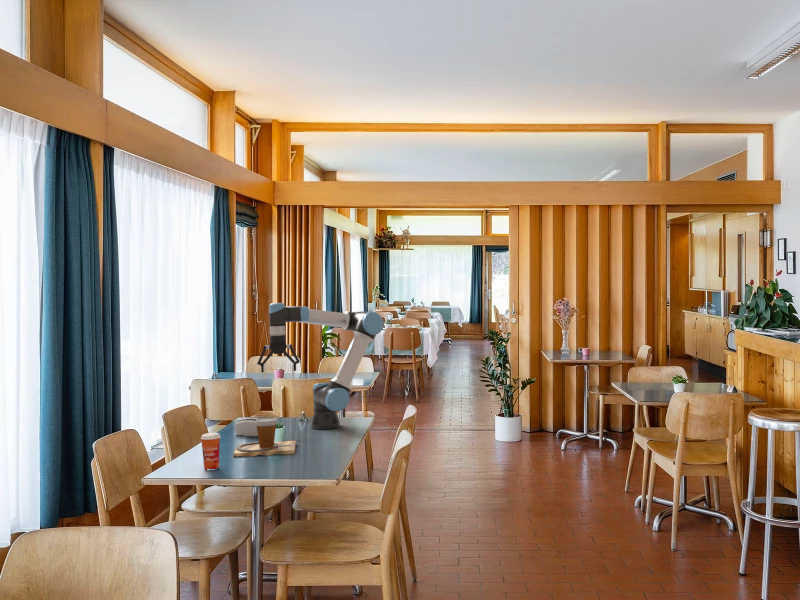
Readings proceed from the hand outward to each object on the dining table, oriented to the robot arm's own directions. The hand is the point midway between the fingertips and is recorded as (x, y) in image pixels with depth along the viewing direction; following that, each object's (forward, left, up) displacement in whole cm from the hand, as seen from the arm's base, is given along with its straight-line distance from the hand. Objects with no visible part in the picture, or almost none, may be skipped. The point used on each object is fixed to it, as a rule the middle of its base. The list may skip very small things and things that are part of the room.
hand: (279, 378), depth 337 cm
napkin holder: (+15, -10, -29) cm, 34 cm away
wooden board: (+6, +27, -29) cm, 40 cm away
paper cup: (+25, +56, -29) cm, 68 cm away
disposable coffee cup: (+5, +27, -27) cm, 38 cm away
